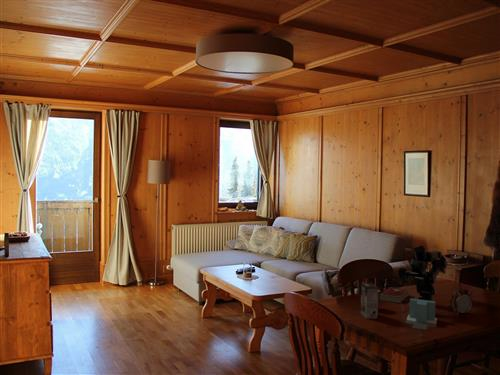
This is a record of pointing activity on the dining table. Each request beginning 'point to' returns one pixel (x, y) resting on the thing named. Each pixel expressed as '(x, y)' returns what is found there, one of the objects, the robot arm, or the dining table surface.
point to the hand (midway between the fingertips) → (411, 285)
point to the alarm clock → (461, 300)
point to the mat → (421, 325)
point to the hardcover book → (394, 295)
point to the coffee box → (369, 300)
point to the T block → (422, 310)
